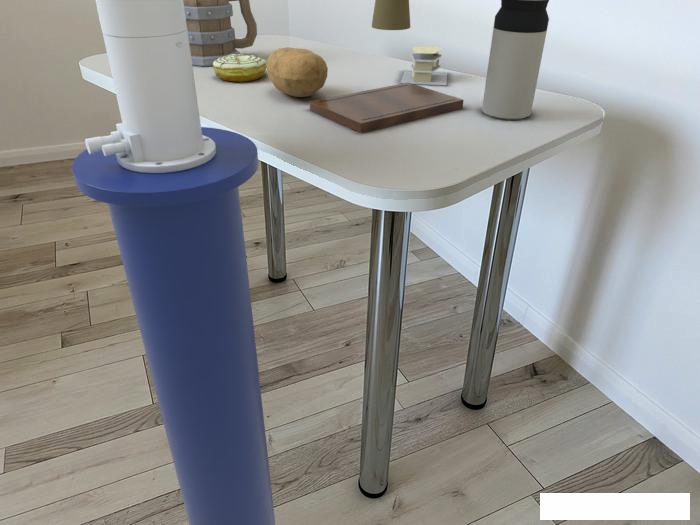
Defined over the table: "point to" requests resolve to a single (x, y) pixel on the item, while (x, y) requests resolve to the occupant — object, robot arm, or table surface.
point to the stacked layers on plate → (425, 67)
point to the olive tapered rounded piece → (391, 15)
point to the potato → (296, 71)
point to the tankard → (216, 29)
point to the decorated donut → (239, 67)
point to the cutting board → (385, 106)
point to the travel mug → (515, 58)
